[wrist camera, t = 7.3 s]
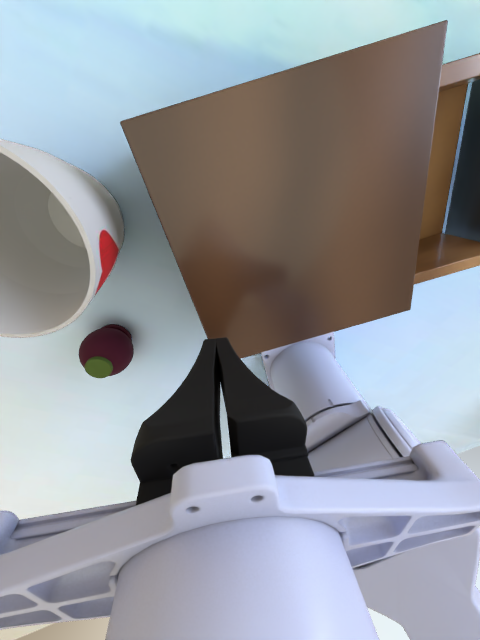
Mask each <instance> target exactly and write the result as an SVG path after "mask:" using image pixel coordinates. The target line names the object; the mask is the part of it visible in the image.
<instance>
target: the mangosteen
mask: <svg viewBox="0 0 480 640" xmlns="http://www.w3.org/2000/svg"><path fill="white" fill-rule="evenodd" d="M132 357H133V345H132V337H131V334H130V333H129V331H128V330H127V329H125V328H124V327H122V326H119V325H115V324H110V325H106V326H104V327H102V328H101V329H98V330H96V331H94V332H92V333H90V334H89V335H88V336H87V337H86V338H85V339H84V340H83V342H82V343H81V346H80V349H79V359H80V362H81V364H82V365H83V367H84V368H85V371H86V372H87V373H88V374H89V375H90V376H92V377H95V378H105V377H107V376H112V375H115V374H118V373H120V372H121V371H123V370H124V369H125V368H126V367H127V366H128V365H129V364H130V362H131V360H132Z"/></svg>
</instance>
